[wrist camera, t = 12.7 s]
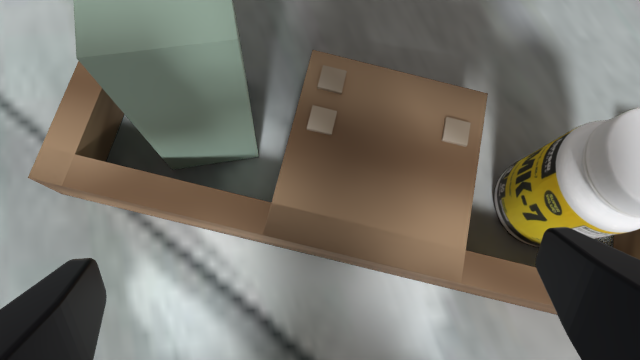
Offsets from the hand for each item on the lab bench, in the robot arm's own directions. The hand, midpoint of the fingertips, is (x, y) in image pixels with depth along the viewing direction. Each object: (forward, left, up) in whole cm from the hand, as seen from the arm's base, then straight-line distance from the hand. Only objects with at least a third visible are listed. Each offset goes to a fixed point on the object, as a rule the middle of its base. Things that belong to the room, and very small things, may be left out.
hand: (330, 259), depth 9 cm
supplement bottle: (+12, -6, -14) cm, 19 cm away
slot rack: (+7, +2, -14) cm, 15 cm away
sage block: (+2, +10, -14) cm, 17 cm away
